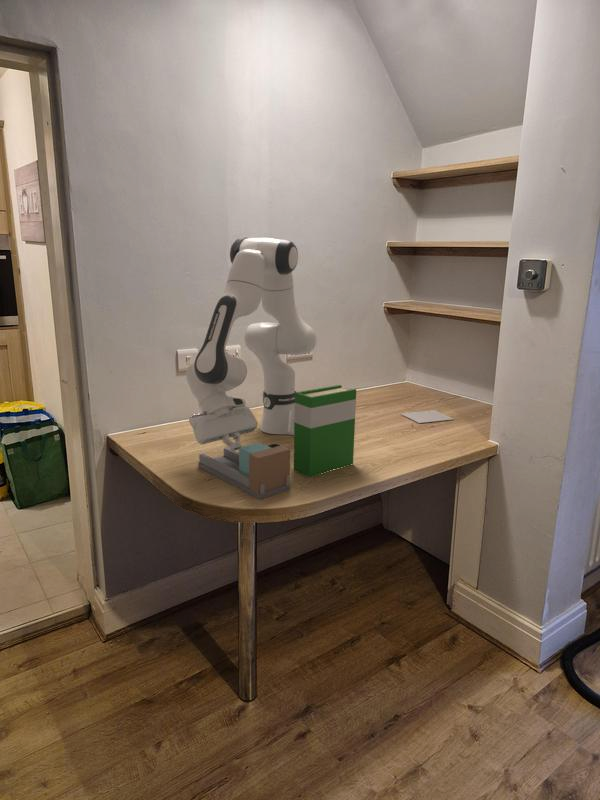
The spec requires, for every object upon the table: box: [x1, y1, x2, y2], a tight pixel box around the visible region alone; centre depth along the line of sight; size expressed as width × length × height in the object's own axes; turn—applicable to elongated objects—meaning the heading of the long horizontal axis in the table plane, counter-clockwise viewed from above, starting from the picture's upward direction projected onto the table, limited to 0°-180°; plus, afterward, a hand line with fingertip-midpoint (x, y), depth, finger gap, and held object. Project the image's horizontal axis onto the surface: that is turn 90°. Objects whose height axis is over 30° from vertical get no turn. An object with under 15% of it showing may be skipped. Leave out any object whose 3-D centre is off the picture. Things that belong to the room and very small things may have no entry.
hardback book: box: [293, 384, 357, 478], centre depth 172 cm, size 18×7×24 cm, turn 129°
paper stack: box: [399, 409, 454, 424], centre depth 225 cm, size 23×25×1 cm
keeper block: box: [238, 442, 271, 476], centre depth 160 cm, size 7×7×9 cm
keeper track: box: [197, 445, 292, 500], centre depth 165 cm, size 11×30×12 cm, turn 42°
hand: (237, 449), depth 167 cm, fingers closed
